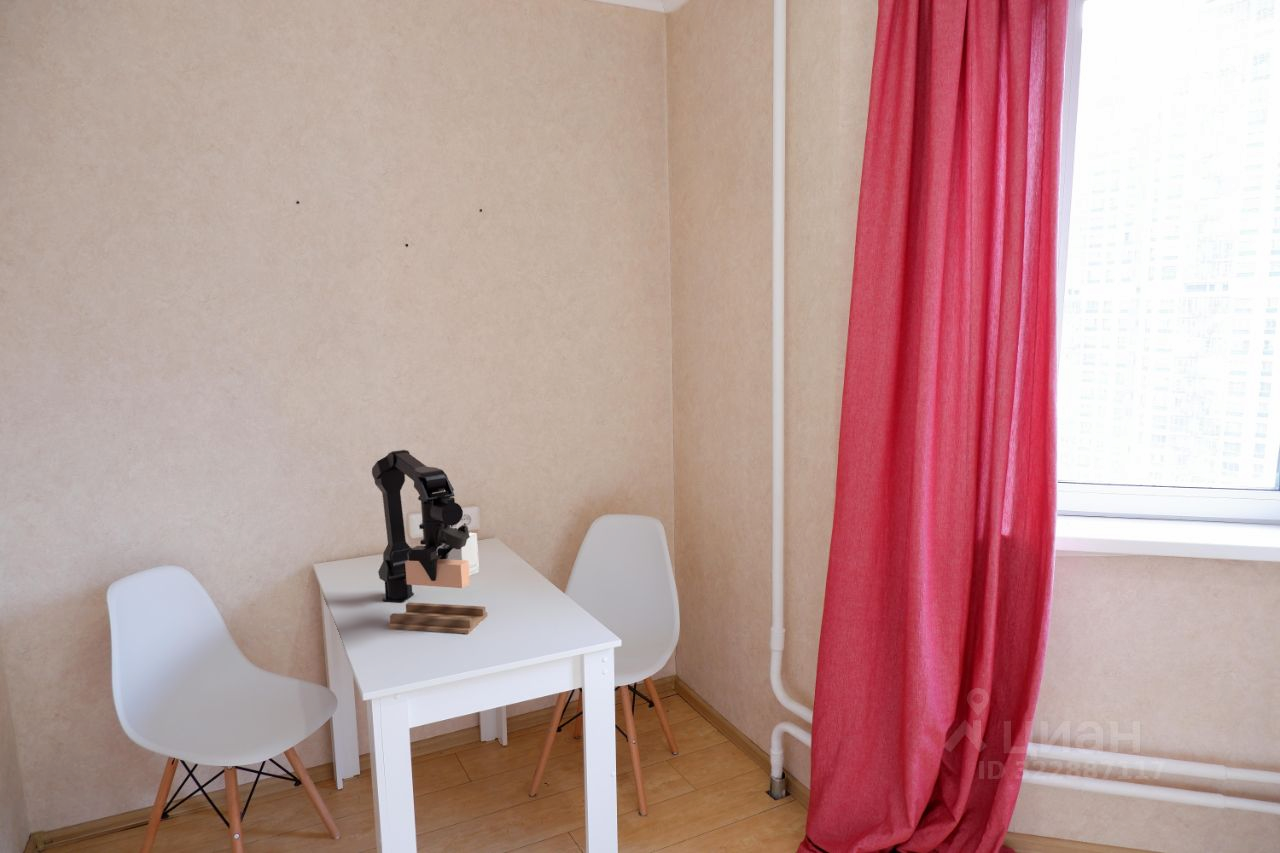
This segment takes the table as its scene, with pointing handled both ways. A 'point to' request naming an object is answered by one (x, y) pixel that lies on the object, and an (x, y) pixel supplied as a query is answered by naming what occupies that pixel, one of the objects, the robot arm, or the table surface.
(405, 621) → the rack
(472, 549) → the supplement box
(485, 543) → the table surface
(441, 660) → the table surface
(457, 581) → the peach rectangular block
